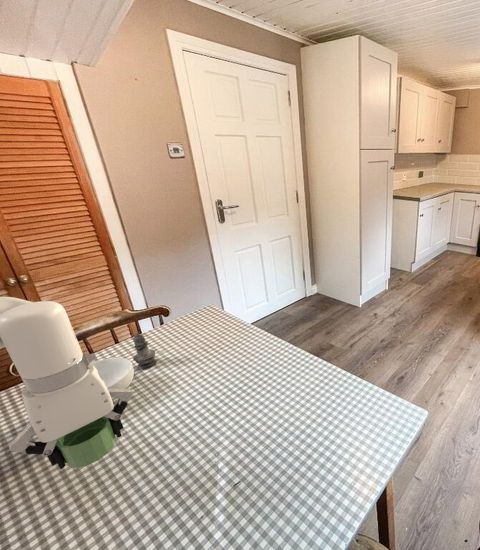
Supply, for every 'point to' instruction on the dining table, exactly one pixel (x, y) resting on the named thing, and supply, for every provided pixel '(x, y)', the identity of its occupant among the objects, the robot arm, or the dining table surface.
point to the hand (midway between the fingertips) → (91, 447)
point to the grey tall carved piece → (143, 353)
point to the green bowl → (87, 443)
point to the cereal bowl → (115, 372)
